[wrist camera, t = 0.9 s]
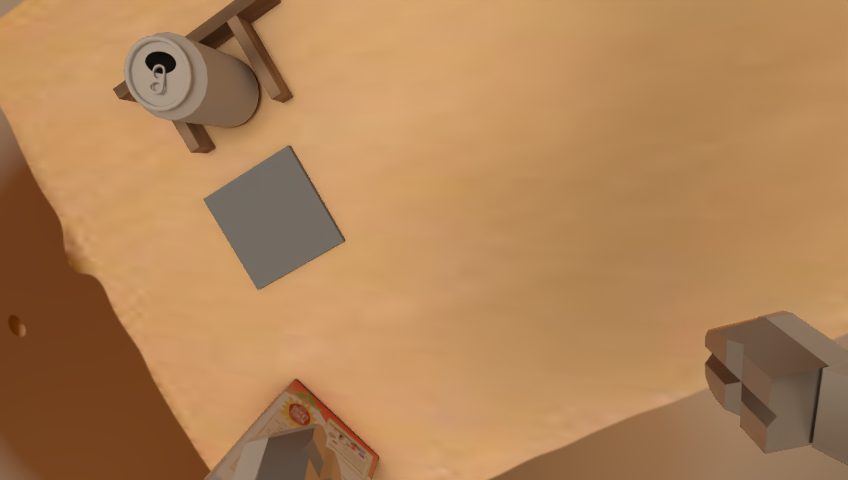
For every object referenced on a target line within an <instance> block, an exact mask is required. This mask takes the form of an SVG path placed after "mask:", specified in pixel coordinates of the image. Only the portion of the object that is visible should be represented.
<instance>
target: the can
mask: <svg viewBox="0 0 848 480" xmlns="http://www.w3.org/2000/svg"><path fill="white" fill-rule="evenodd" d="M124 73H125V81H126V84H127V86H128V89H129V91H130V93H131V94H132V96H133V97H134V98H135V99H136V101H137V102H138V103H140V104H141V105H142V106H143V107H144V108H145V109H146V110H147V111H149V112H150V113H151V114H153V115H154V116H156V117H159V118H163V119H166V120H172V121H179V122H187V123H194V124H202V125H209V126H217V127H224V128H225V127H236V126H238V125H241V124H243V123H245V122H246V121H247V120H248V119H249V118H250V117H251V116H252V114H253V112H254V111H255V109H256V107H257V102H258V98H259V92H258V84H257V81H256V79H255V76H254V74H253V72H252V71H251V70H250V69H249V67H248V66H247V65H246V64H245V63H243V62H242V61H240V60H239V59H237V58H234V57H232V56H230V55H227V54H225V53H222V52H220V51H218V50H215V49H213V48H210V47H208V46H205V45H203V44H201V43H198V42H196V41H193V40H191V39H189V38H186V37H184V36H181V35H177V34H174V33H170V32H166V33H157V34H155V35H153V36H147V37H145V38H143V39H141V40H139V41H137V43H136V44H135V45H134V46H133V47H132V48H131V49H130V51H129V53H128V55H127V57H126V61H125V68H124Z"/></svg>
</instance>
